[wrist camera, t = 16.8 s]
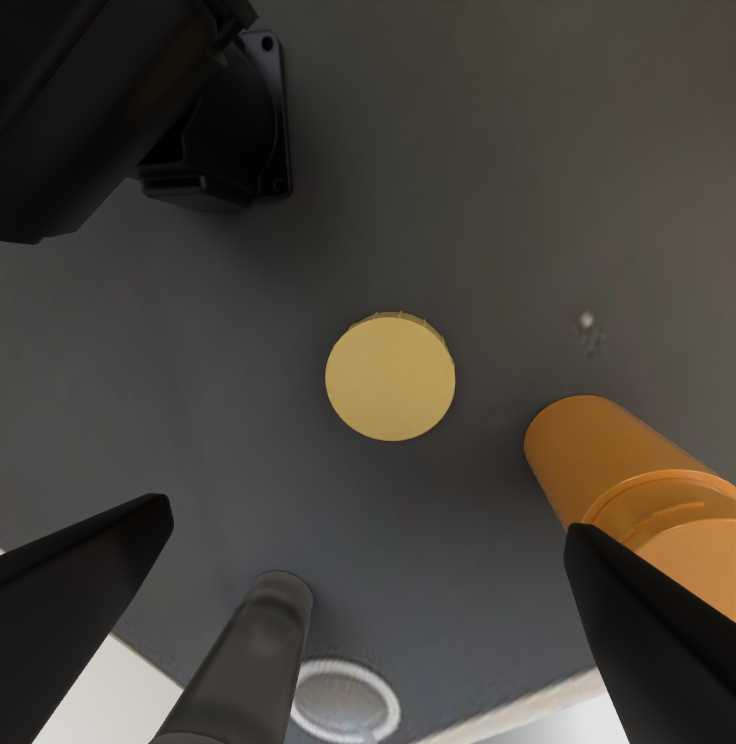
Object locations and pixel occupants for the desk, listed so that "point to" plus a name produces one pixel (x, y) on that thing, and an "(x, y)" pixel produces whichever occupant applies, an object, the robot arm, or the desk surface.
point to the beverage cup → (247, 670)
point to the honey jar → (638, 492)
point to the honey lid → (390, 376)
